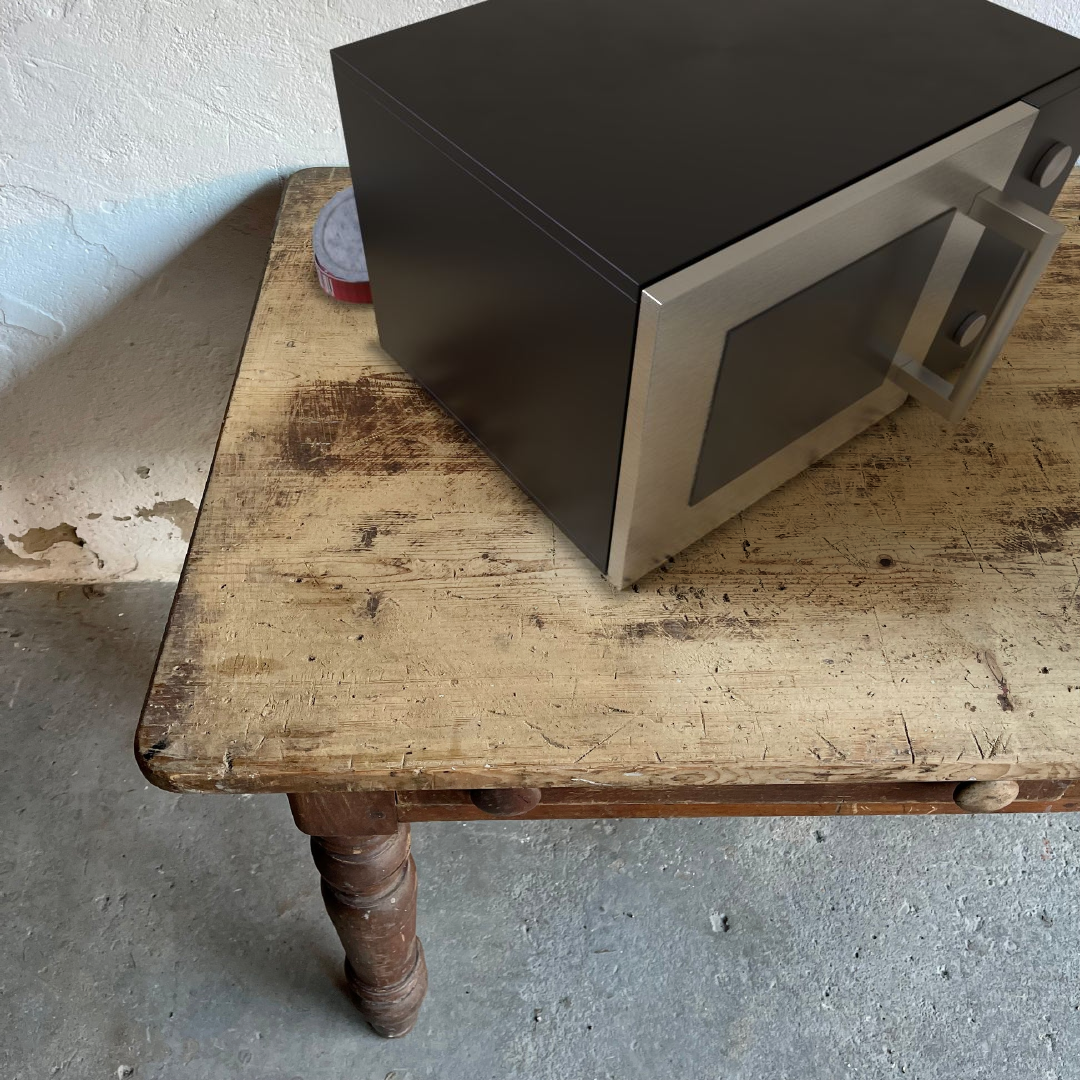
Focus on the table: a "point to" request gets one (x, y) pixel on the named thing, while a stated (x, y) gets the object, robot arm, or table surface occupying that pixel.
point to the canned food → (341, 250)
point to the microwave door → (813, 336)
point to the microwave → (647, 185)
